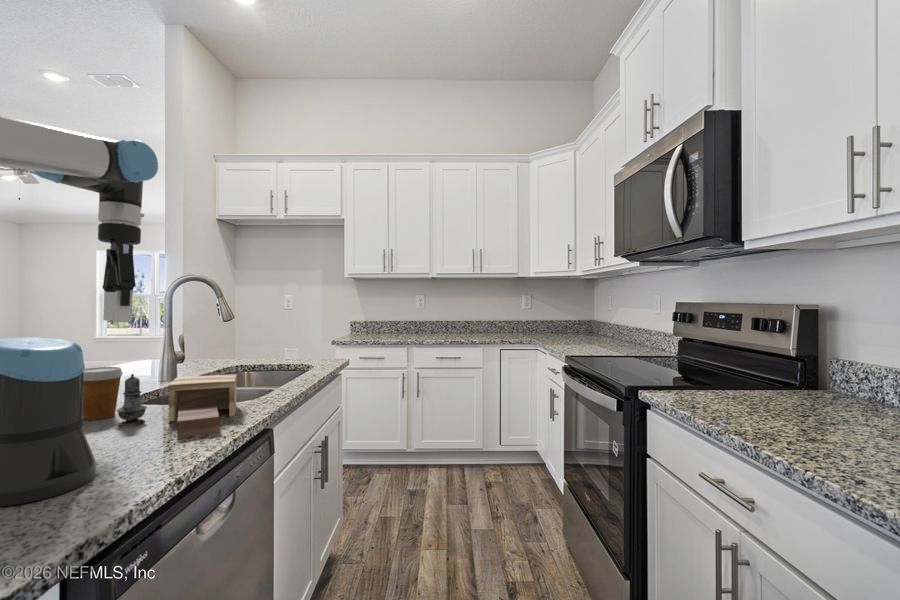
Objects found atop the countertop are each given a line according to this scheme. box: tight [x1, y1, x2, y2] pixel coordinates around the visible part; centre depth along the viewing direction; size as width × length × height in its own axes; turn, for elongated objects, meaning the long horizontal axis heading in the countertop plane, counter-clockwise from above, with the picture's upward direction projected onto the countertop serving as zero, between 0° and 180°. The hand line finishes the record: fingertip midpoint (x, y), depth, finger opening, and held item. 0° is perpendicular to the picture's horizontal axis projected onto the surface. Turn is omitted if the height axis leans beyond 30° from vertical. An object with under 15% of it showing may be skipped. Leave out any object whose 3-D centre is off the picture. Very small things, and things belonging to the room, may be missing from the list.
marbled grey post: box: [116, 373, 148, 427], centre depth 105 cm, size 6×6×12 cm
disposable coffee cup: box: [83, 366, 124, 421], centre depth 110 cm, size 10×10×12 cm
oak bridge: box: [168, 373, 238, 423], centre depth 114 cm, size 11×14×9 cm
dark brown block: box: [176, 405, 220, 439], centre depth 101 cm, size 12×8×4 cm, turn 31°
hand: (116, 321), depth 96 cm, fingers open, 13 cm apart
